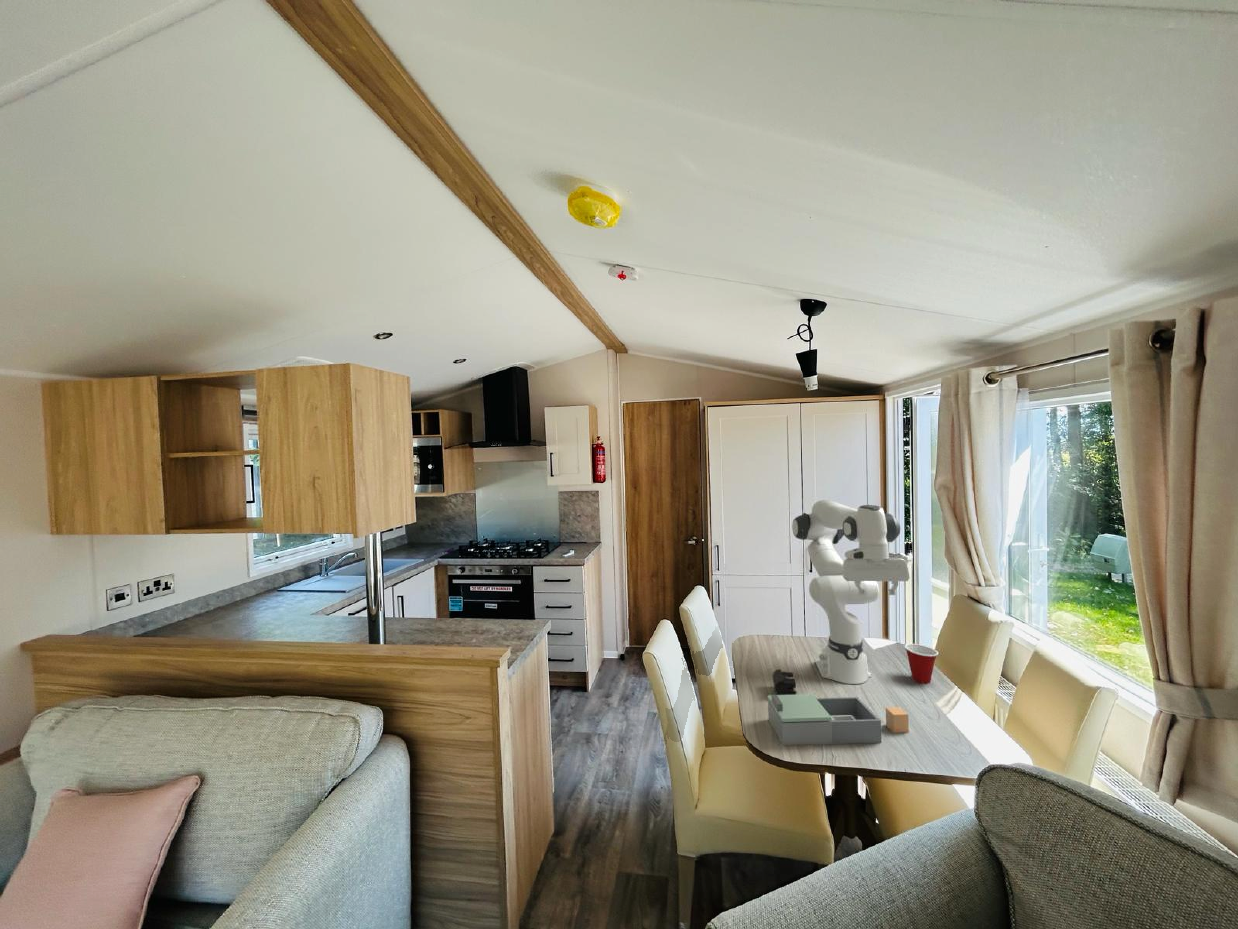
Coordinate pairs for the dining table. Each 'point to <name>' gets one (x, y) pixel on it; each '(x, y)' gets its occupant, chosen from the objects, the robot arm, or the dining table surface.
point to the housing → (831, 724)
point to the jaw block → (897, 719)
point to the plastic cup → (921, 661)
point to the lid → (798, 708)
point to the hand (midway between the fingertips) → (876, 594)
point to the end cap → (784, 683)
